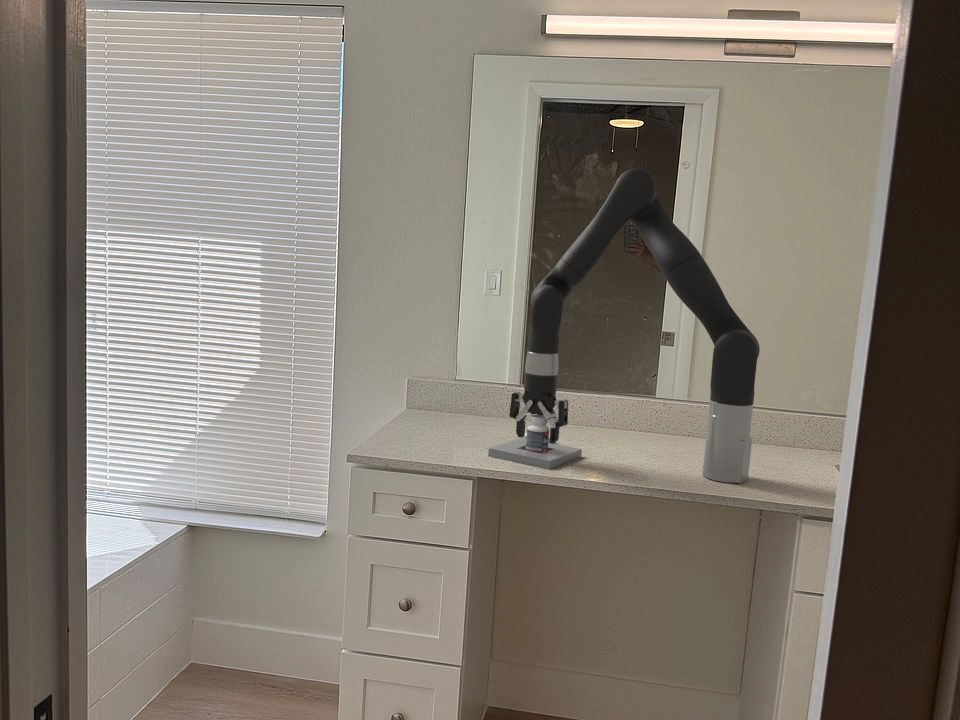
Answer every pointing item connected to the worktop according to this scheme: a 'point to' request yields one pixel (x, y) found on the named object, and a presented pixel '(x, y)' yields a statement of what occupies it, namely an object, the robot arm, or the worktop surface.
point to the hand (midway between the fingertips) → (536, 440)
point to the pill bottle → (537, 435)
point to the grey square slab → (535, 454)
